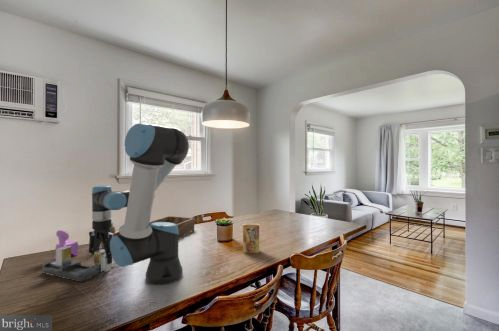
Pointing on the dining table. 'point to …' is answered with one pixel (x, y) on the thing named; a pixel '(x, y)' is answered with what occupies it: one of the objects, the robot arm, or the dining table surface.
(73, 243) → the toy chair
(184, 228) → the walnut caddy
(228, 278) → the dining table surface
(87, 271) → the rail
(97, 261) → the gold-topped white block
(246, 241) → the candy box
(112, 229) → the squeeze bottle
